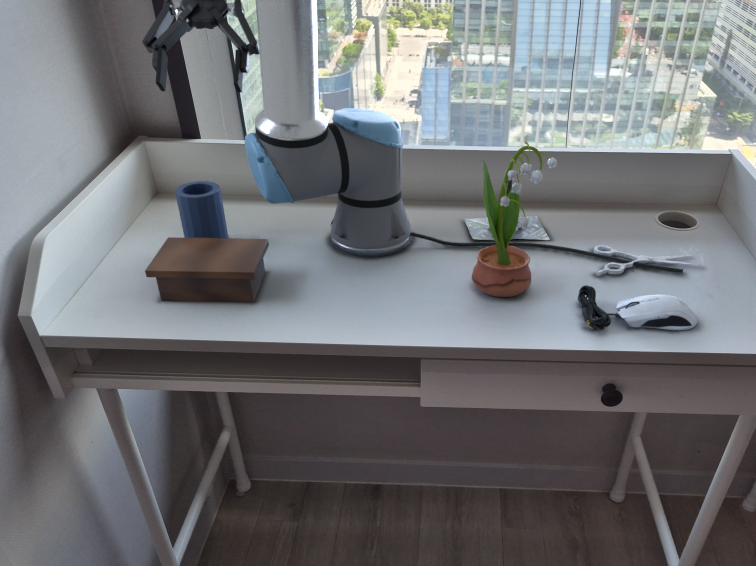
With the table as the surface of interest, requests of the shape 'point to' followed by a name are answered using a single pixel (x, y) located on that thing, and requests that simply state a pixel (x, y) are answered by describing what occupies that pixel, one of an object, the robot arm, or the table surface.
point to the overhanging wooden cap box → (209, 269)
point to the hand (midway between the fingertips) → (199, 87)
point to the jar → (201, 210)
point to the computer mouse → (639, 311)
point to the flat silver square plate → (534, 231)
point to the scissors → (634, 257)
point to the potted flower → (506, 233)
